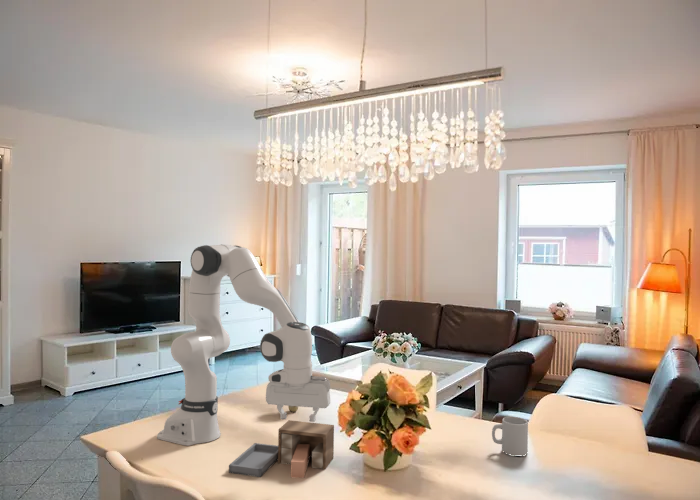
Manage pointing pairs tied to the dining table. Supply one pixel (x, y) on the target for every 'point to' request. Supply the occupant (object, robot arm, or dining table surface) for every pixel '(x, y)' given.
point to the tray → (255, 460)
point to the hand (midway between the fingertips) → (298, 419)
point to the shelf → (306, 442)
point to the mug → (513, 435)
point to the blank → (300, 461)
